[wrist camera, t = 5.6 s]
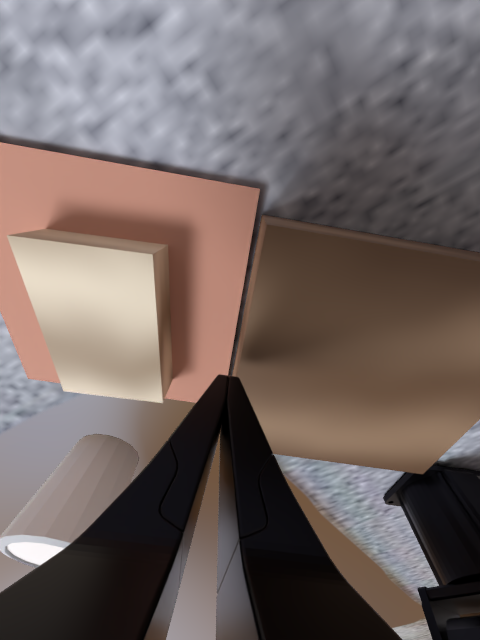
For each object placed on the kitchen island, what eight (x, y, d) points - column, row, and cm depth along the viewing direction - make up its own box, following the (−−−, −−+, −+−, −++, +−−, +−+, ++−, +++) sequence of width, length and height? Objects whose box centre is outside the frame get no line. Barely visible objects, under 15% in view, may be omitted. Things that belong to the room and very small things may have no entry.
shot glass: (158, 451, 21) (119, 560, 14) (127, 480, 23) (83, 582, 17) (85, 418, 19) (4, 527, 13) (60, 454, 22) (-15, 557, 15)
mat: (223, 402, 17) (222, 406, 17) (32, 374, 16) (28, 378, 16) (259, 189, 10) (260, 188, 10) (-63, 131, 10) (-75, 128, 9)
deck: (387, 416, 17) (422, 474, 13) (228, 393, 17) (222, 446, 13) (502, 256, 11) (617, 285, 8) (261, 214, 11) (266, 224, 7)
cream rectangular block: (63, 391, 14) (84, 368, 15) (162, 403, 14) (172, 379, 16) (6, 235, 9) (45, 228, 11) (152, 254, 9) (168, 244, 11)
